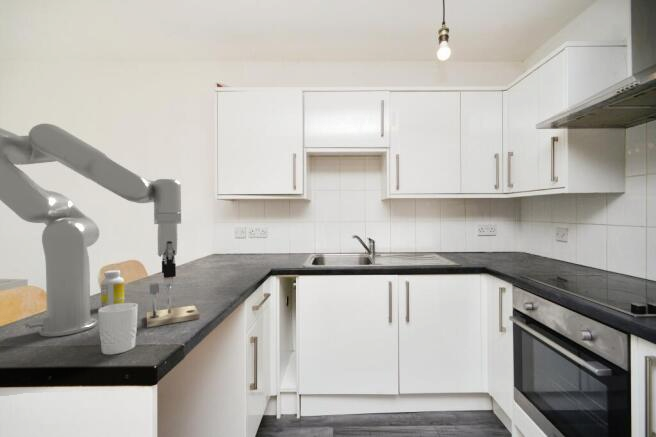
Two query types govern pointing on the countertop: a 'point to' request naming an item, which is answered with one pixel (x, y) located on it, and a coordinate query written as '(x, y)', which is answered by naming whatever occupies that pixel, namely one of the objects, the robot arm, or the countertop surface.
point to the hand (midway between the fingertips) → (168, 274)
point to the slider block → (169, 290)
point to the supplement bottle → (112, 288)
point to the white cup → (118, 327)
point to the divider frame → (156, 287)
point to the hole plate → (172, 316)
